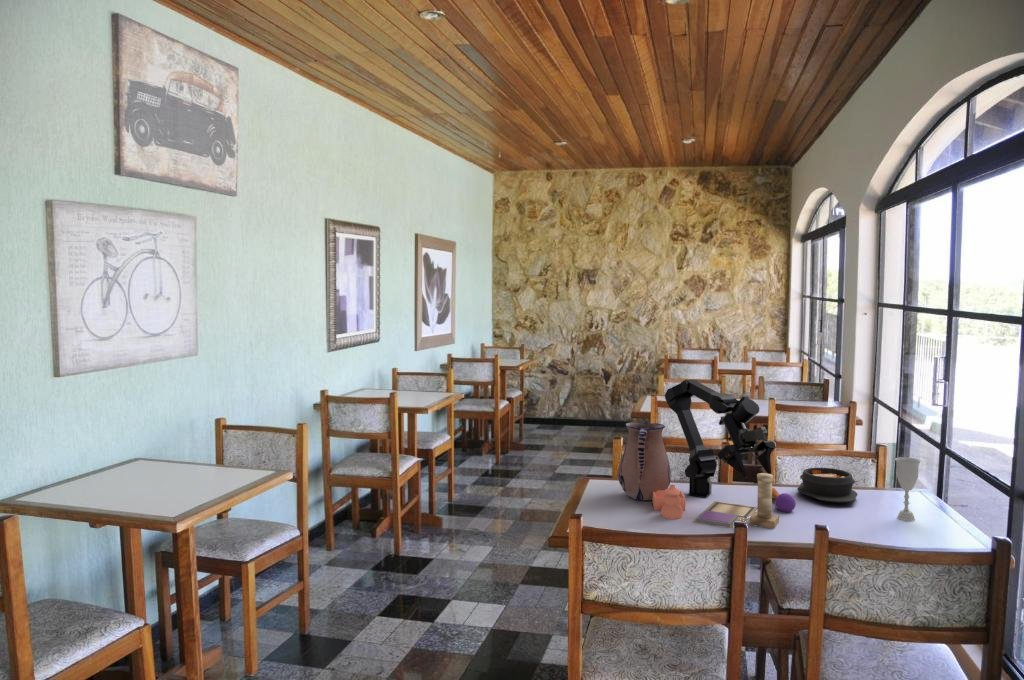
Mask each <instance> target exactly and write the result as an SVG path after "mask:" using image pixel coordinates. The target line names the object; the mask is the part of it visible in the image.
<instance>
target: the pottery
mask: <svg viewBox="0 0 1024 680" xmlns="http://www.w3.org/2000/svg"><path fill="white" fill-rule="evenodd" d="M651 501H652V502H651V503H652V506H654V507H653V510H654V511H660V513H661V516H662V517H663V518H666V519H670V520H671V519H672V520H677V519H681V518H683V514H684V512H686V497H685V494H684V493H683V490H680V489H678V488H676V484H670V485H669V487H668V488H667V489H666V490H657V491H656V492H654V491H653V494H652V500H651Z"/></svg>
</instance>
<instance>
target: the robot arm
mask: <svg viewBox="0 0 1024 680" xmlns="http://www.w3.org/2000/svg"><path fill="white" fill-rule="evenodd" d="M694 396H695V397H697V398H698V399H699V400H700V401H701V400H702V401H703V402H705V403H707V404H708V406H709V409H711V410H712V412H714V413H715V414H717V415H721V414H726V415H724V416H723V415H722V416H720V419H719V422H718V425H719V426H724V427H725V429H726V431H727V433H728V436H729V437H727V440H728V442H732V444H726V445H725V446H723V447H722V448H721V449H720V450H719V451H718V452H717V456H718V460H719V461H720V462H723V463H724V464H728V465H729V467H731V468H733V469H734V470H735V471H736V472H738V473H739V474H740V475H741V476H743V478H747V479H748V477H749V476H748V472H747V469H746V467H745V465H744V463H743V460H742V455H744V454H751V453H754V454H755V456H756V460H757V462H759V464H760V465H761V466H762V468H763V469H764V470H765V473H768V474H772V465H771V464H772V463H771V454H772V453H773V452H774V450H775V449H776V448H777V446H776V444H775V442H774V441H773V440H770V439H769V440H766V438H767V437H768V436H769V432H768V430H767V427H765V426H760V427H756V429H753V430H752V429H751V428H749V427H746V424H748V423H749V422H750V421H751V420H752V419H753V418H754V417H755V416H756V415H758V414H759V413H760V406H759V404H758V403H757V402H755V401H754V400H753V399H751V398H750V397H749V396H748V395H746V396H745V395H744V396H742V397H741V398H740V399H739V400H738V399H737V397H736V396H735V395H733V394H730V393H725V392H723V393H722V392H718V391H716V390H714V389H712V388H710V387H708V386H707V385H705V384H703V383H701V382H699V381H698V380H696V379H695V378H694V379H685V380H683V381H681V382H680V383H678V384H676V385H674V386H671V388H670V387H669V388H668V389H667V390H666V392H665V393H664V400H665V401H666V403H667V405H668V407H669V409H671V410H672V411H673V412H674V413H675V414H676V416H677V419H678V421H679V424H680V427H681V430H682V433H683V436H684V437H685V440H686V443H687V445H688V448H689V456H688V462H689V464H688V466H686V468H685V469H684V475H685V477H686V478H689V479H688V480H689V485H688V487H689V490H688V491H689V492H688V493H687V495H688V496H690V497H691V496H692V497H700V498H708V497H709V496H710V495H712V481H711V478H712V477H715V474H716V470H717V467H718V464H717V458H716V456H715V454H714V453H715V452H714V451H713V449H712V448H707V447H706V446H705V445H704V442H703V439H702V437H701V434H700V432H699V428H698V426H697V423H696V421H695V418H694V415H693V413H692V410H691V407H692V406H691V405H692V397H694ZM759 441H761V442H759Z"/></svg>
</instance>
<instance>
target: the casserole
mask: <svg viewBox="0 0 1024 680" xmlns="http://www.w3.org/2000/svg"><path fill="white" fill-rule="evenodd" d="M799 477H800V479H801V481H802V482H801V483H800V484H799V485H798V487H797V488H796V489H797V491H798V492H799V493H801V494H802V495H805V496H808V497H810V498H812V499H815V500H818V501H822V502H828V503H851V502H855V501H856V500H857V496H858V492H856V491H855V490H854V489H853V485H854V484H855V483H856V480H855V479H854V477H853V474H852V473H851V472H849V471H845V470H843V469H838V468H831V467H811V468H806V469H805V468H804V469H803V471H802V474H801V475H800V476H799Z"/></svg>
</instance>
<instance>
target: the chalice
mask: <svg viewBox="0 0 1024 680" xmlns="http://www.w3.org/2000/svg"><path fill="white" fill-rule="evenodd" d="M894 461H895V463H896V472H895V473H896V474H895V476H896V478H897V481H898V484H899V486H900V487H901V489H902V490H904V495H903V498H904V501H903V504H904V508H903V509H901V510H899V513H898V515H897V516H896V519H898V520H900V521H904V522H914V521H916V518H915V515H914V512H913V511H911V510H910V509H909V504H911V503H910V502H909V499H910V495H909V491H911V490H913V488H914V487H915V485H916V484H917V480H918V478H919V465H920V463H921V460H920V459H918V458H915V457H914V458H913V457H903V456H900V457H899V456H898V457H895V458H894Z"/></svg>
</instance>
